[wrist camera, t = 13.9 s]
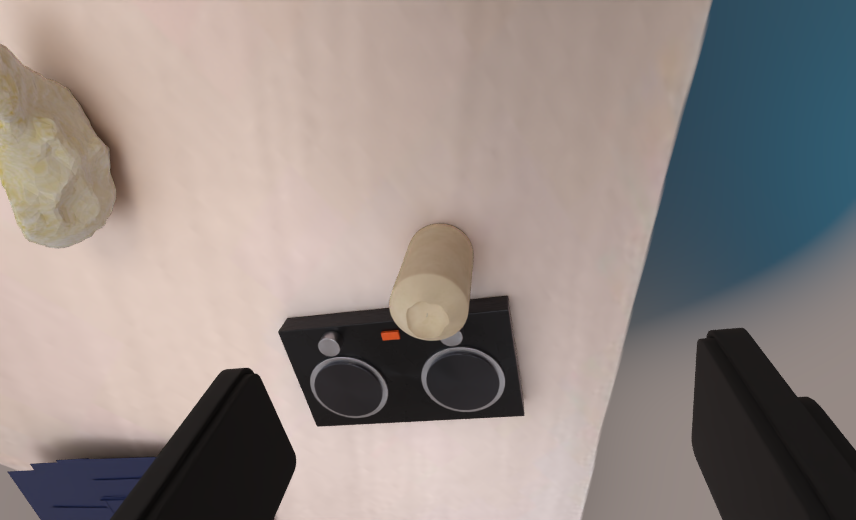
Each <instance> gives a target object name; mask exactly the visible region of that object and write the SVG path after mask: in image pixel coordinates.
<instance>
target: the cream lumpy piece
mask: <svg viewBox="0 0 856 520" xmlns="http://www.w3.org/2000/svg"><path fill="white" fill-rule="evenodd" d="M109 158H110V152H109V147H108V146H106V145H105V144H104V143H103V142H102V140H101V139H100V138H99V137H98V136H97V135H96V133H95V131H94V130H93V129H92V127H91V125H90V121H89V119H88V118H87V117H86V115H85V113H84V111H83V109H82V107H81V106H80V104H79V103H78V101H77V100H76V99H75V98H74V97H73V96H72V94H71V91H70V89H68V88H67V87H64V86H63V85H61V84H60V83H58V82H56V81H54V80H51V79H45V78H44V77H43V76H42V75H41V74H39V73H37V72H34V71H33V70H31V69H30V68H28V67H26V66H24V65H23V64H22V63H21V62H20V61H19V60H18V59H17V58H16V57H15V55H14V54H13V53H12V52H11V51H10V50H9V49H8V48H7V47H5V46H4V45H2V44H0V181H1V184H2V186H3V187H4V189H5V190H6V193H7V196H8V199H9V201H10V204H11V207H12V210H13V212H14V215H15V219H16V222H17V225H18V226H19V227H20V229H21V231H22V233H23V235H24V237H25V238H26V239H27V240H28V241H29V242H33V243H36V244H39V245H44V246H46V247H50V248H66V247H69V246H72V245H74V244H77V243H79V242H82V241H83V240H85V239H87V238H89V237H91V236H92V235H93V234H94V232H95V231H96V230H98V229H100V228H102V227H103V226H104V225H105V224H106V221H107V219H108V217H109V216H110V214H111V213H112V209H113V205H114V203H115V200H116V188H115V185H114V182H113V179H112V176H111V173H110V167H111V165H110V159H109Z"/></svg>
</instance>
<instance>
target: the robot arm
mask: <svg viewBox="0 0 856 520" xmlns="http://www.w3.org/2000/svg"><path fill="white" fill-rule="evenodd" d="M692 446H693V451H694V454H695V457H696V460H697V462H698V464H699V467H700V469H701V471H702V474H703V476H704V478H705V480H706V483H707V485H708V487H709V489H710V492H711V494H712V497H713V499H714V501H715V503H716V506H717V508H718V510H719V513H720V515H721V517H722V519H723V520H856V450H855V449H854V448H853V447H852V445H851V444H850V443H849V442H848V440H847V439H846V438H845V437H844V435H843V434H842V433H841V432H840V430H839V429H838V428H837V427H836V425H835V424H834V423H833V421H832V420H831V419H830V418H829V416H828V415H827V414H826V413H825V411H824V410H823V409H822V408H821V407H820V406H819V405H818V404H817V403H816V402H815V401H814V400H813V399H811V398H809V397H797V396H796V395H795V394H794V392H793V391H792V390H791V388H790V387H789V386H788V384H787V383H786V382H785V380H784V379H783V378H782V377H781V375H780V374H779V372H778V371H777V370H776V368H775V367H774V366H773V364H772V363H771V362H770V361H769V359H768V358H767V357H766V355H765V354H764V353H763V351H762V350H761V349H760V347H759V346H758V345H757V343H756V342H755V341H754V339H753V338H752V337H751V335H750V334H749V333H748V332H747V331H746V330H745V329H744V328H733V329H721V330H711V331H709V332H708V334H707V338H705V339H699V340H698V342H697V354H696V372H695V388H694V405H693V423H692ZM295 467H296V455H295V452H294V450H293V448H292V446H291V444H290V441H289V439H288V437H287V435H286V433H285V430H284V428H283V426H282V424H281V422H280V419H279V417H278V415H277V413H276V411H275V408H274V406H273V404H272V402H271V400H270V397H269V395H268V393H267V391H266V389H265V386H264V384H263V382H262V380H261V378H260V376H259V375H258V374H254V372H253V371H252V370H251V369H250V368H238V369H226V370H223V371H222V372H221V373H220V374H219V375H218V376H217V377H216V379H215V380H214V381H213V383H212V384H211V385H210V387H209V388H208V389H207V391H206V392H205V393H204V395H203V396H202V397H201V399H200V400H199V401H198V403H197V404H196V405H195V407H194V408H193V409H192V411H191V412H190V413H189V415H188V416H187V417H186V419H185V420H184V421H183V423H182V424H181V425H180V427H179V428H178V429H177V431H176V432H175V433H174V435H173V436H172V437H171V439H170V440H169V441H168V443H167V444H166V445H165V447H164V448H163V449H162V451H161V452H160V453H159V455H158V456H157V457H156V459H155V460H154V461H153V463H152V464H151V465H150V467H149V468H148V469H147V471H146V472H145V473H144V475H143V476H142V477H141V479H140V480H139V481H138V483H137V484H136V485H135V487H134V488H133V489H132V491H131V492H130V493H129V495H128V496H127V497H126V499H125V500H124V501H123V503H122V504H121V505H120V507H119V508H118V509H117V511H116V512H115V513H114V515H113V516H112V517H111V519H110V520H273V519H274V517H275V514H276V512H277V510H278V508H279V505H280V503H281V501H282V498H283V496H284V494H285V491H286V489H287V487H288V485H289V482H290V480H291V478H292V475H293V473H294V470H295Z"/></svg>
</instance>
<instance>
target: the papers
mask: <svg viewBox="0 0 856 520" xmlns="http://www.w3.org/2000/svg"><path fill="white" fill-rule="evenodd" d="M155 459H156V457H140V458H111V459H89V458H86V459H68V460H56V461H57V463H37V464H30V465H31V466H32V468H33V469H34V470H31V471H11V472H8V473H9V474H10V476H11V477H12V479H13V480H14V482H15V483H16V485H17V486H18V488H19V489H20V490H21V492H22V493H23V495H24V496H25V498H26V499H27V501H28V502H29V503H30V505H31V506H32V508H33V509H34V511H35V512H36V513H37V515H38V516H39V518H40V519H41V520H110V519H111V517H112V516H113V515H114V513H115V512H116V511H117V509H118V508H119V507H120V505H121V504H122V503H123V501H124V500H125V499H126V497H127V496H128V495H129V493H130V492H131V491H132V489H133V488H134V487H135V485H136V484H137V483H138V481H139V480H140V479H141V477H142V476H143V475H144V473H145V472H146V471H147V469H148V468H149V467H150V465H151V464H152V463H153V461H154V460H155Z"/></svg>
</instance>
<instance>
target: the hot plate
mask: <svg viewBox="0 0 856 520" xmlns="http://www.w3.org/2000/svg"><path fill="white" fill-rule="evenodd" d="M278 333H279V335H280V337H281V340H282V342H283V345H284V347H285V350H286V352H287V354H288V357H289V359H290V362H291V364H292V367H293V369H294V371H295V374H296V376H297V379H298V381H299V384H300V386H301V388H302V391H303V393H304V396H305V398H306V401H307V403H308V405H309V408H310V410H311V413H312V415H313V418H314V420H315V422H316V425H317V426H337V425H356V424H376V423H395V422H415V421H434V420H453V419H473V418H492V417H511V416H524V401H523V393H522V387H521V380H520V373H519V366H518V360H517V353H516V346H515V339H514V333H513V326H512V319H511V313H510V306H509V299H508V296H502V297H492V298H482V299H473V300H469V311H468V317H467V320H466V322H465V324H464V326H463V327H462V328H461V329H460V330H459V331H458V332H457V333H456V334H454V335H453V336H451V337H449V338H446V339H442V340H436V341H428V340H421V339H418V338H415V337H413V336H410V335H409V334H407V333H405V332H404V331H403V330H402V329H400V328H399V327H398V325H397V324H396V323H395V322H394V320H393V318H392V316H391V313H390V309H389V308H385V309H375V310H365V311H355V312H345V313H336V314H326V315H316V316H306V317H296V318H287V319H286V321H285V322H284V324H283V325H282V327H281V328H280V330H279V331H278Z"/></svg>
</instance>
